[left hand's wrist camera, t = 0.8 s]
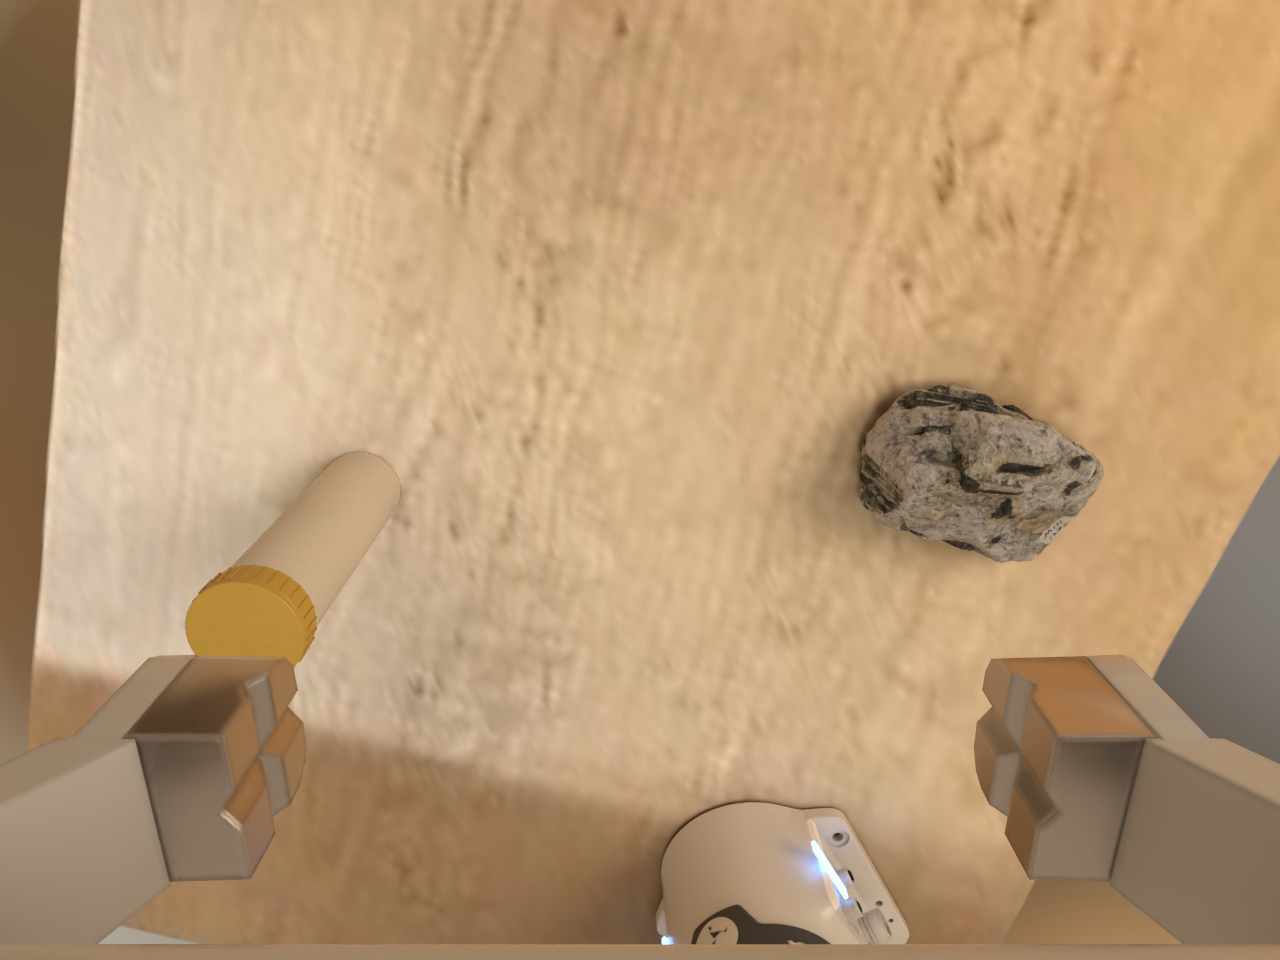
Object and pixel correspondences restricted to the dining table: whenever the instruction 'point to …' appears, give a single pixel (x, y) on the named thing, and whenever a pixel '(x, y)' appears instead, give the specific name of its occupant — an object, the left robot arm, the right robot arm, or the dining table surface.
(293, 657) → the lid
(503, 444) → the dining table surface
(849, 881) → the right robot arm
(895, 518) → the rock
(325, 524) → the jar
